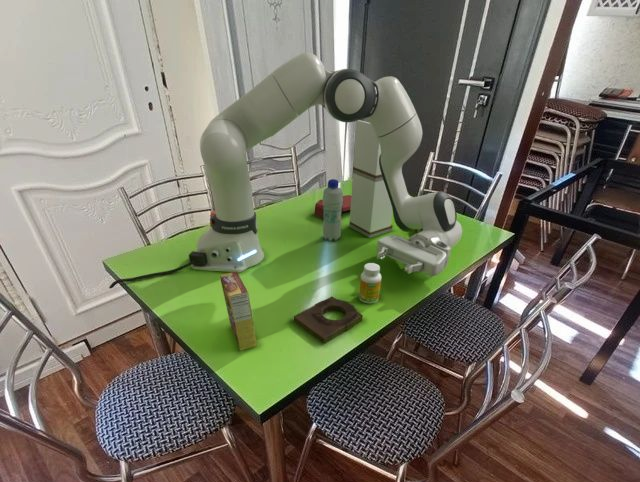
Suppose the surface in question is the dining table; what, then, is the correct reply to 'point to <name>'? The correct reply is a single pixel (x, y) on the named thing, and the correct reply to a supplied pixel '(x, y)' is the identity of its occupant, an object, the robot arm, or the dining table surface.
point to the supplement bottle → (370, 283)
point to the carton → (320, 208)
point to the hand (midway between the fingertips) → (392, 263)
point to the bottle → (332, 210)
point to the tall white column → (368, 185)
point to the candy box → (239, 310)
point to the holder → (325, 327)
